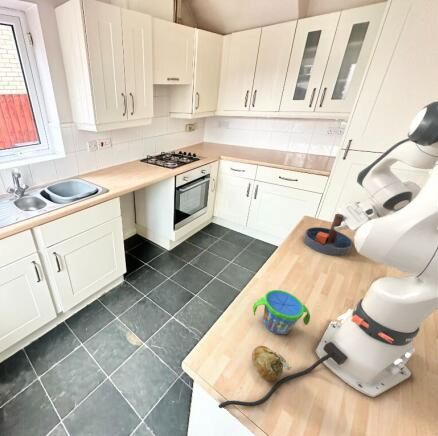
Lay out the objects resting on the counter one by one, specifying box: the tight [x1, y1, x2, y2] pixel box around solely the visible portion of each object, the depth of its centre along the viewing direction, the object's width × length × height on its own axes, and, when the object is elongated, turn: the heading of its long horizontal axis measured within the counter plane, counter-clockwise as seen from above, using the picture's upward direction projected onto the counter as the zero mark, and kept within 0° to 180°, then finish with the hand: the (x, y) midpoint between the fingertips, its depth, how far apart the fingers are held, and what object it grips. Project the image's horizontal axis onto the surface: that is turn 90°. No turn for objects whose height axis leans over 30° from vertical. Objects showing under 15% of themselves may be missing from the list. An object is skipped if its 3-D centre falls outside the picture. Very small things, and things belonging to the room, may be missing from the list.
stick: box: [327, 213, 344, 244], centre depth 109 cm, size 3×3×14 cm
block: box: [315, 232, 329, 245], centre depth 115 cm, size 4×4×4 cm
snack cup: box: [252, 289, 311, 335], centre depth 74 cm, size 16×10×10 cm
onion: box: [251, 345, 292, 381], centre depth 63 cm, size 8×8×8 cm
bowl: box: [302, 226, 354, 257], centre depth 113 cm, size 18×18×4 cm
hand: (333, 227), depth 109 cm, fingers closed on stick, 3 cm apart
